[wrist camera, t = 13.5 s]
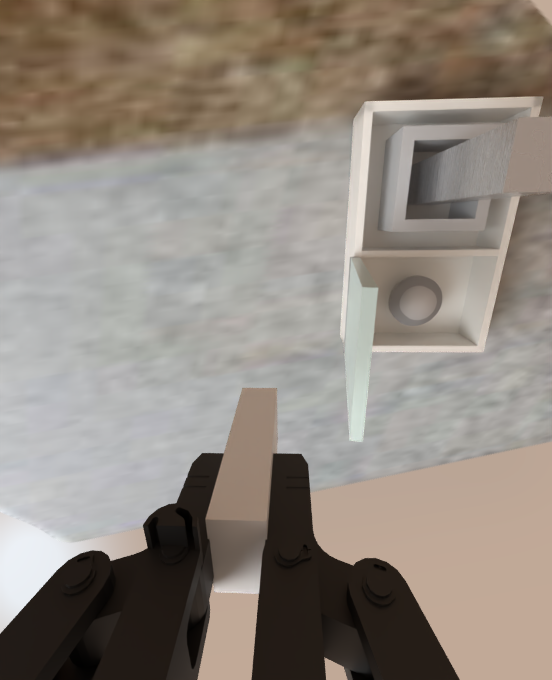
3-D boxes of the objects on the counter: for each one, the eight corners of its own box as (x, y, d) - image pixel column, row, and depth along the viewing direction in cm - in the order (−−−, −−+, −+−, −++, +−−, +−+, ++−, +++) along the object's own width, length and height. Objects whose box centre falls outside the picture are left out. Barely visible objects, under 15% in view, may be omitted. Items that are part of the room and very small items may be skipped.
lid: (353, 351, 33) (343, 350, 33) (360, 256, 30) (349, 256, 30) (364, 442, 20) (347, 440, 20) (380, 287, 16) (360, 287, 16)
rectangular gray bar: (402, 205, 32) (502, 192, 17) (406, 167, 31) (518, 117, 16) (436, 204, 32) (568, 191, 17) (442, 166, 31) (590, 115, 16)
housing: (339, 335, 38) (348, 355, 32) (353, 119, 30) (367, 96, 25) (458, 335, 38) (488, 356, 32) (503, 115, 30) (553, 91, 24)
